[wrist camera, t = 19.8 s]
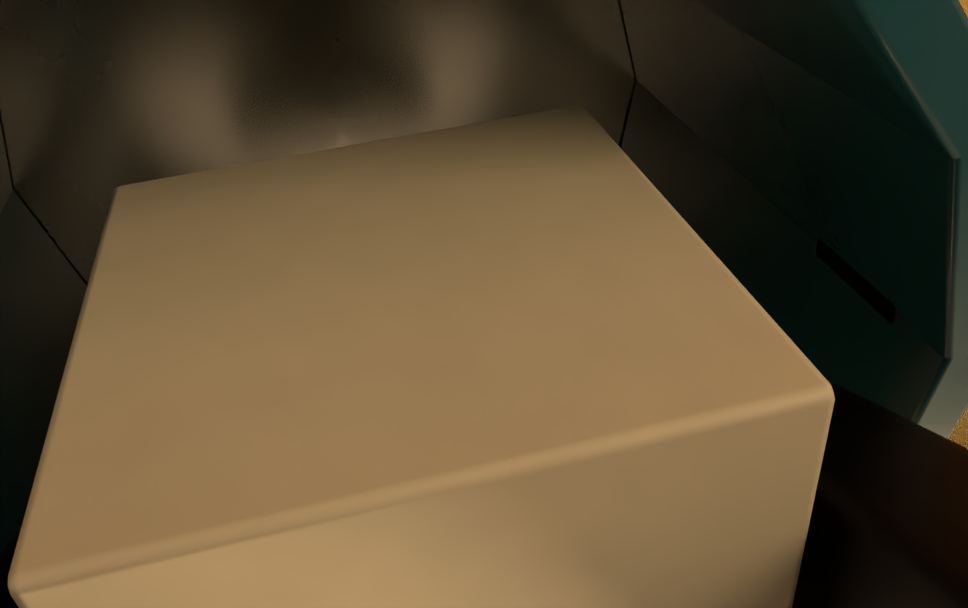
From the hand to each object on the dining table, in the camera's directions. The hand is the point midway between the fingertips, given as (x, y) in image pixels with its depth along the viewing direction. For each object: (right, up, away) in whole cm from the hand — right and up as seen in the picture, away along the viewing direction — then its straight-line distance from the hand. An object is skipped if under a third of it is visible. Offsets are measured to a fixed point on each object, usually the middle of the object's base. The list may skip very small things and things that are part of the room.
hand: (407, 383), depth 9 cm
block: (0, +1, +1) cm, 1 cm away
